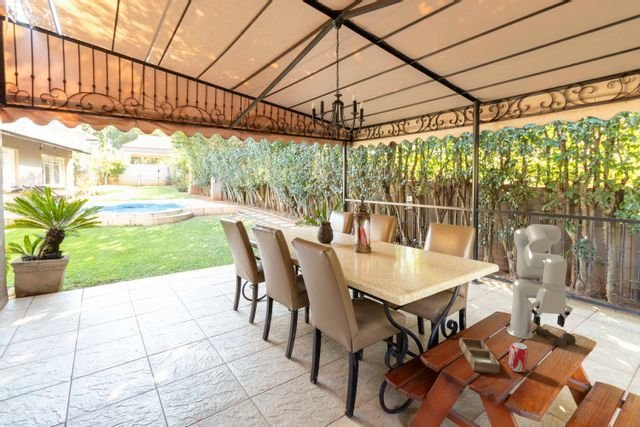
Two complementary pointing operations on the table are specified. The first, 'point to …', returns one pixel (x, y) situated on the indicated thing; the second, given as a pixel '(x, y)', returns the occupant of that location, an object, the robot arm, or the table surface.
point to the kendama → (558, 341)
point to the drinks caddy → (479, 355)
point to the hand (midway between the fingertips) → (548, 324)
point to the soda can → (518, 357)
